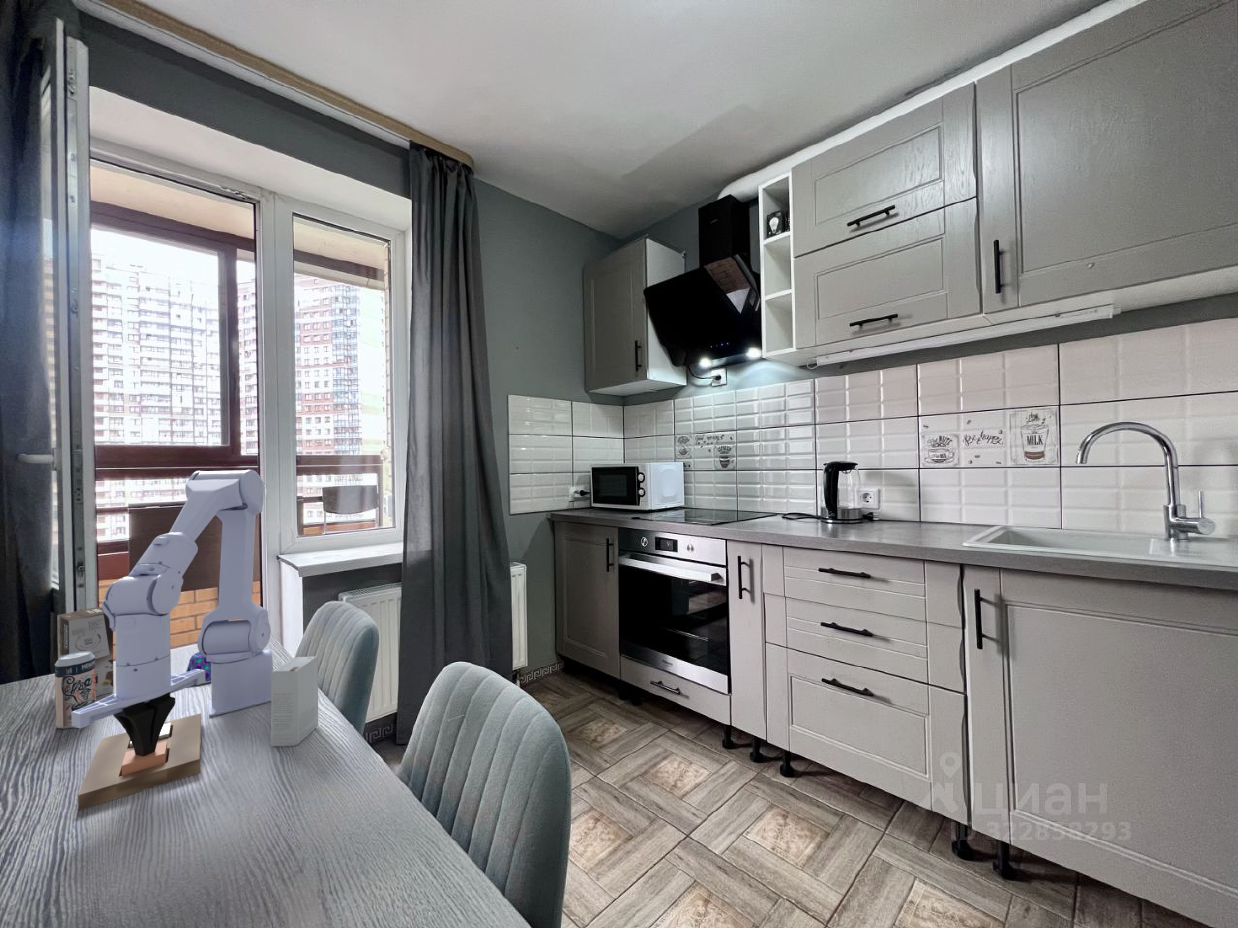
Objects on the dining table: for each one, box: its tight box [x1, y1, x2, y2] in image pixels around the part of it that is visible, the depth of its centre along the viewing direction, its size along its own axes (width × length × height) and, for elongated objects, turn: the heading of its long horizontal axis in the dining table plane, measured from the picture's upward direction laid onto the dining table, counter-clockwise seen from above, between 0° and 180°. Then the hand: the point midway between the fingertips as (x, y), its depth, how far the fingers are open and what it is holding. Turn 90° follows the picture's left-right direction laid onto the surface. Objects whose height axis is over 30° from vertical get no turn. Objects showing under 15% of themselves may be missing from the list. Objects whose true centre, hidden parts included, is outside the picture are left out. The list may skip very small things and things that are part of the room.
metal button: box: [130, 723, 171, 748], centre depth 78 cm, size 4×4×2 cm
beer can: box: [54, 651, 97, 730], centre depth 87 cm, size 5×5×12 cm
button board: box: [77, 712, 202, 812], centre depth 75 cm, size 12×18×2 cm, turn 40°
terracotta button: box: [122, 741, 167, 776], centre depth 71 cm, size 4×4×2 cm
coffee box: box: [56, 606, 114, 697], centre depth 99 cm, size 9×6×16 cm
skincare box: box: [270, 656, 319, 747], centre depth 81 cm, size 6×4×12 cm
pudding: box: [183, 651, 211, 684], centre depth 107 cm, size 12×12×5 cm
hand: (145, 752), depth 71 cm, fingers closed, pressing on terracotta button
